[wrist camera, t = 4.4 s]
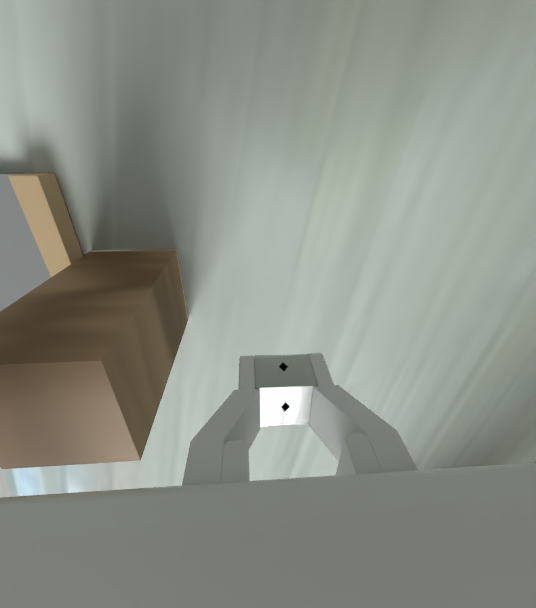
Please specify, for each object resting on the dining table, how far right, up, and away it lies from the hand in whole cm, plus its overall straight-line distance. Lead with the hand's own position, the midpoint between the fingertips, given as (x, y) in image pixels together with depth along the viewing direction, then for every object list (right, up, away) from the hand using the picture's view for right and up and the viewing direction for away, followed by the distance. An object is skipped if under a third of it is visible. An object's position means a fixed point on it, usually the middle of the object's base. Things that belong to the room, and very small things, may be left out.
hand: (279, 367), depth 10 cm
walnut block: (-8, +3, +6) cm, 10 cm away
